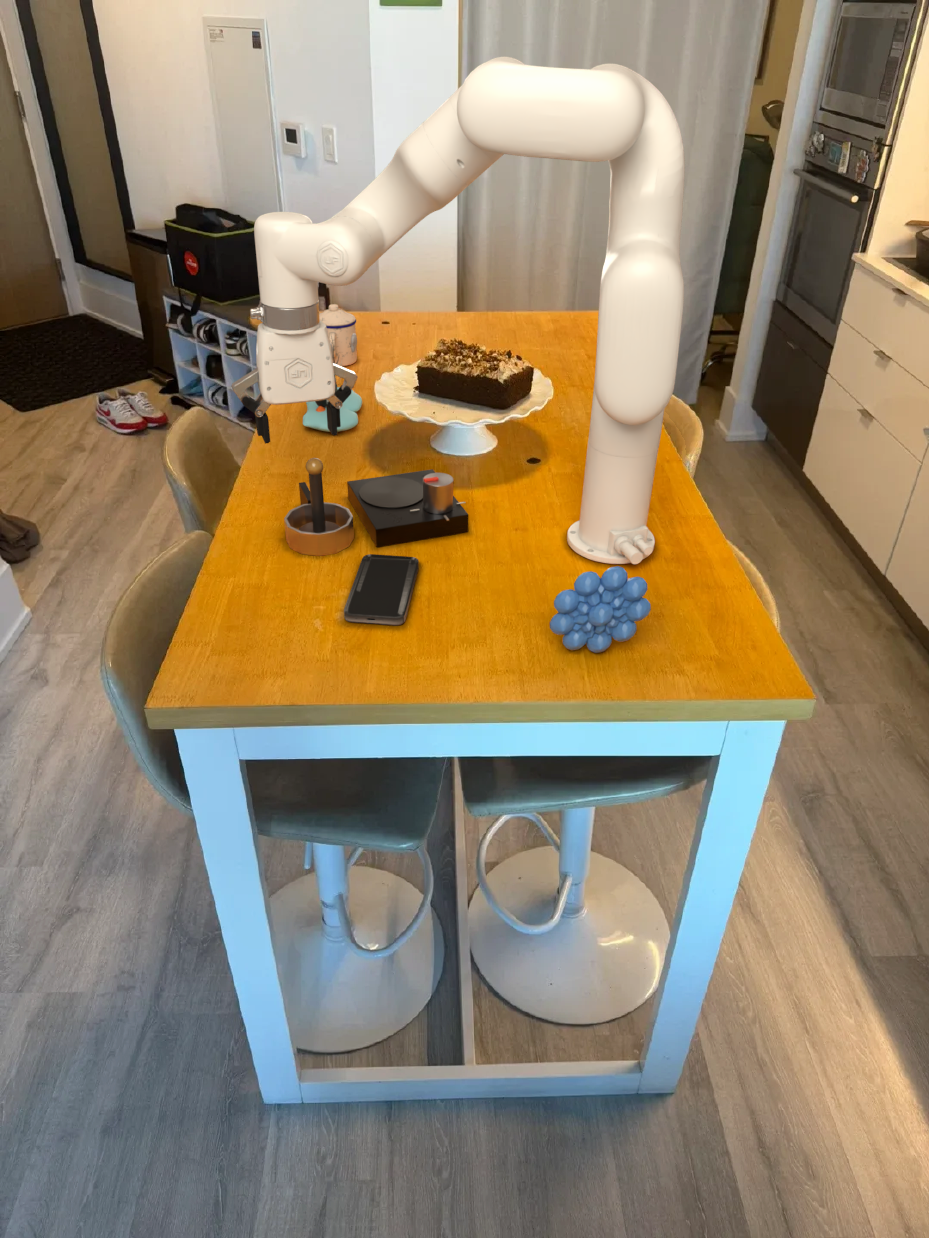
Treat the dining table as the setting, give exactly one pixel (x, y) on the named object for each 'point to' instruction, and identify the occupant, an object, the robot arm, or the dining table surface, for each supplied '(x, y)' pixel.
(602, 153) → the robot arm
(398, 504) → the burner
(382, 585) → the phone
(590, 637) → the blue knobbed flower shape
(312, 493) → the peg stand
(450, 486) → the hotplate knob
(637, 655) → the dining table surface
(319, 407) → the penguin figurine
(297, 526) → the egg ring
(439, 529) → the hotplate
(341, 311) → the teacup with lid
